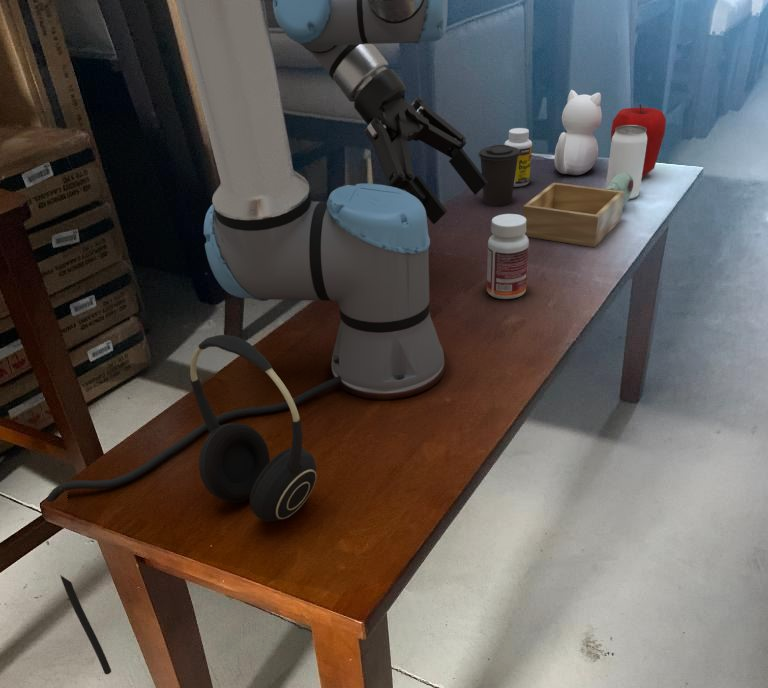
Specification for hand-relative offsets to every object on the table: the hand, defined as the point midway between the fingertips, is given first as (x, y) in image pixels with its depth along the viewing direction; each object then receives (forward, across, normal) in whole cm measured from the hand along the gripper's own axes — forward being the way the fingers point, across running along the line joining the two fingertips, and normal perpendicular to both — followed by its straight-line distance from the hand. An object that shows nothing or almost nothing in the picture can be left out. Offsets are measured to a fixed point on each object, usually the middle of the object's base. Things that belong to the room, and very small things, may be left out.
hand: (461, 203), depth 117 cm
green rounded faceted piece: (+18, -41, 0) cm, 45 cm away
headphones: (+14, +60, -4) cm, 61 cm away
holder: (+14, -29, -4) cm, 32 cm away
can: (+16, -49, -2) cm, 52 cm away
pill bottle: (+15, 0, -4) cm, 15 cm away
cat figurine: (+7, -59, -12) cm, 60 cm away
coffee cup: (+2, -37, -17) cm, 41 cm away
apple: (+15, -61, -3) cm, 63 cm away
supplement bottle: (+1, -48, -17) cm, 51 cm away
